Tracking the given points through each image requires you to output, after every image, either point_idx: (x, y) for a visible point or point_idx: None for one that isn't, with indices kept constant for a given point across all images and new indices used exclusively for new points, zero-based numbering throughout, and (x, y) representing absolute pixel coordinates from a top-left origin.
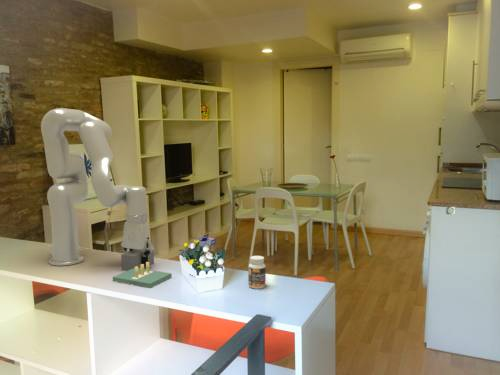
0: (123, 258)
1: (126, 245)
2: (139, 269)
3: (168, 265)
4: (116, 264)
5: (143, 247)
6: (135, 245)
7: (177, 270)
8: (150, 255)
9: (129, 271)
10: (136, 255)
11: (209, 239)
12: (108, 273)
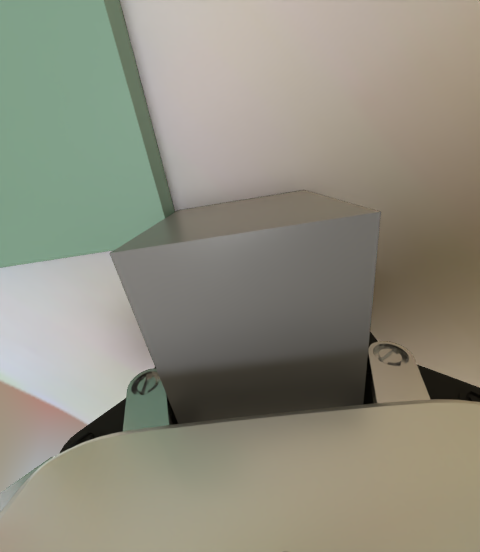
0: (307, 208)
1: (471, 456)
2: (90, 219)
3: None
4: (443, 267)
5: (2, 511)
6: (178, 523)
7: (9, 383)
8: None
9: (95, 105)
10: (140, 320)
11: None
12: (345, 21)
